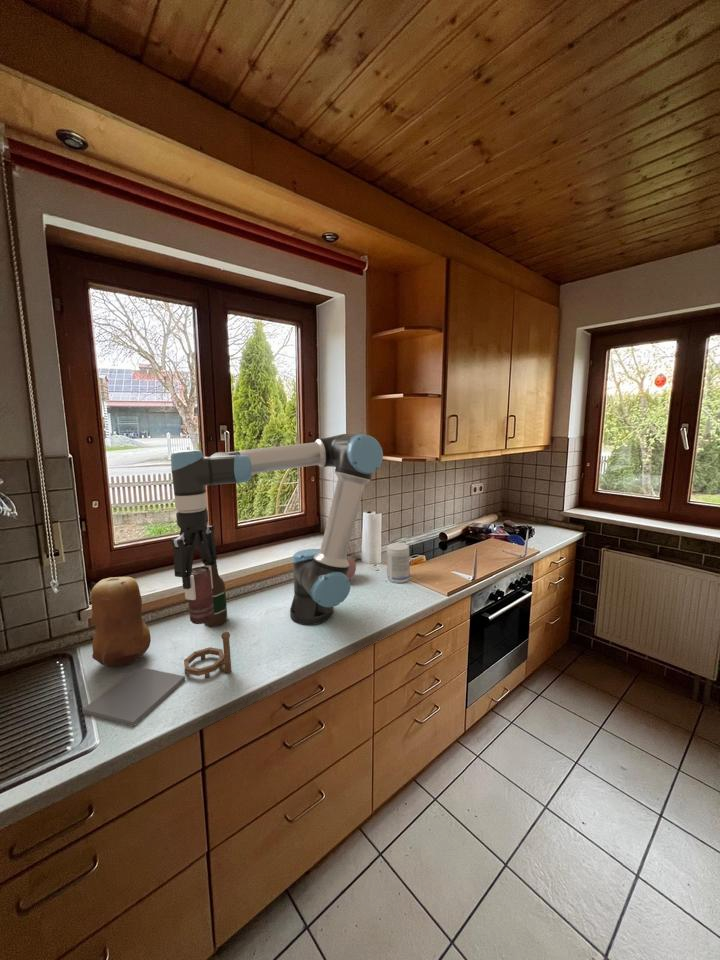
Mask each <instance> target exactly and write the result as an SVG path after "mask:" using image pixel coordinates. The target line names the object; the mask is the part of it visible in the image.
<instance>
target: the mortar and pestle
mask: <svg viewBox="0 0 720 960" xmlns="http://www.w3.org/2000/svg"><path fill="white" fill-rule="evenodd" d="M347 561H348V563H349V569H348V573H347V577H348V578H349V580H351V579H352V578H353V576H354V575H355V573H356V571H357V564H356V561H355V559H354V558H353V557H351V558H348V559H347Z"/></svg>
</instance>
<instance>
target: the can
mask: <svg viewBox="0 0 720 960" xmlns="http://www.w3.org/2000/svg"><path fill="white" fill-rule="evenodd" d="M191 575H194V582H195V592H196V599H195V600H188V599H187V601H188V612H189V620H190V622H191V623H192V624H193V625H202V624H203V625H204V623H207V622H209V621H211V620H212V619H213V617H214V606H213V595H212V584H211V573H210V570H209V568H208V567H201V566H196V567H192V572H191Z"/></svg>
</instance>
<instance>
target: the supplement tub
mask: <svg viewBox="0 0 720 960" xmlns="http://www.w3.org/2000/svg"><path fill="white" fill-rule="evenodd" d="M386 546H387V547H386V566H387V567H386V568H387V570H386V572H387V573H386V574H387V580H388V581H389V582H392V583H396V584H404V583H406V582H408V581H410V579H411V573H410V572H411V570H410V569H411V567H410V563H411V562H410V561H411V560H410V558H411V557H410V553H411V552H410V545H408V544H406V543H402V542H394V543H390V544H388V545H386Z"/></svg>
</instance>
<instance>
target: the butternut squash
mask: <svg viewBox="0 0 720 960" xmlns="http://www.w3.org/2000/svg"><path fill="white" fill-rule="evenodd" d="M90 602H91V611H92V615H91V618H90V619H91V623H92V624H93V625H94V627H95V631H94V635H93V639H92V655H91V656H92V657H91V658H92V659H93V660H94V661H96V662H97V663H99V664H100V665H103V666H104V667H108V668H115V667H120V666H126V667H127V666H128V665H131V664H133V663H135V662H137V661H138V659H140V658H141V657H143V655H145V653H146V652H147V651H148V649H150V648H149V647H150V645H151V638H152V637H151V633H150V628H149V627H148V625H147V624H146V622H145V621H144V618H143V616H142V607H143V603H142V602H143V599H142V595H141V591H140V587H139V584H138V582H137V580H136V579H135V578H133V577H131V576H115V577H114V576H113V577H112V576H111V577H107V578H103V579H101V580H99V581H98V582H96V584H95V585H94V586H93V587H92V589H91V592H90Z"/></svg>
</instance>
